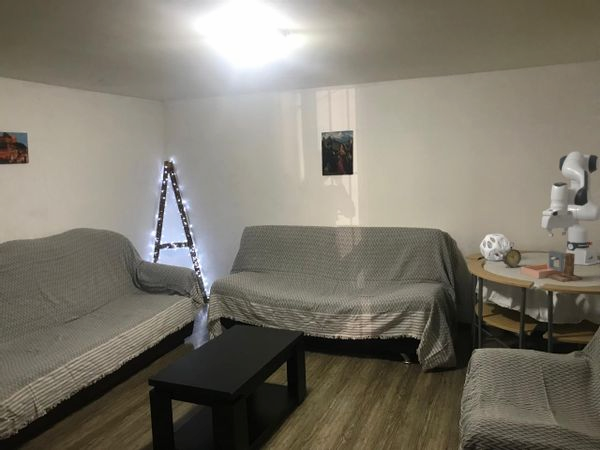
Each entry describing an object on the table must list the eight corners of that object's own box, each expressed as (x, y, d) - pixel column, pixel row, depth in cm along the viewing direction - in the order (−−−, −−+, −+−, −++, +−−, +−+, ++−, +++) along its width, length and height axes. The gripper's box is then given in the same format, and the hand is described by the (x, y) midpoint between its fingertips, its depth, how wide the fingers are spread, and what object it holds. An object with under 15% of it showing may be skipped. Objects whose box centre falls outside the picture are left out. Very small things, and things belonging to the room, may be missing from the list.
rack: (566, 275, 284) (567, 251, 282) (581, 279, 275) (582, 254, 273) (544, 278, 279) (545, 254, 277) (558, 282, 270) (559, 257, 268)
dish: (546, 269, 298) (546, 263, 298) (565, 274, 285) (565, 268, 285) (520, 273, 292) (521, 266, 292) (538, 278, 279) (539, 271, 278)
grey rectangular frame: (551, 267, 279) (552, 250, 277) (563, 271, 271) (564, 252, 269) (548, 268, 278) (549, 250, 276) (560, 271, 270) (561, 253, 269)
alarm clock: (505, 268, 304) (506, 243, 302) (500, 266, 310) (501, 242, 307) (521, 267, 307) (522, 242, 304) (515, 265, 312) (516, 241, 309)
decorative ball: (502, 256, 341) (503, 231, 338) (515, 262, 321) (516, 236, 319) (474, 257, 340) (475, 232, 338) (486, 263, 321) (487, 237, 318)
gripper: (568, 210, 276) (567, 233, 278) (540, 212, 269) (539, 236, 271) (577, 211, 270) (576, 235, 272) (549, 213, 263) (548, 238, 265)
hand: (557, 235), depth 271 cm, fingers open, 8 cm apart
